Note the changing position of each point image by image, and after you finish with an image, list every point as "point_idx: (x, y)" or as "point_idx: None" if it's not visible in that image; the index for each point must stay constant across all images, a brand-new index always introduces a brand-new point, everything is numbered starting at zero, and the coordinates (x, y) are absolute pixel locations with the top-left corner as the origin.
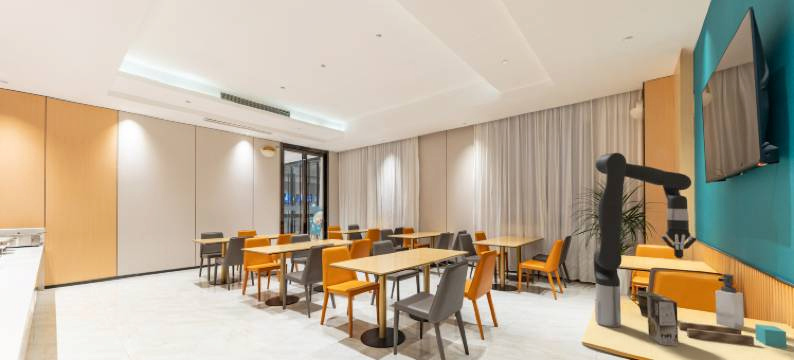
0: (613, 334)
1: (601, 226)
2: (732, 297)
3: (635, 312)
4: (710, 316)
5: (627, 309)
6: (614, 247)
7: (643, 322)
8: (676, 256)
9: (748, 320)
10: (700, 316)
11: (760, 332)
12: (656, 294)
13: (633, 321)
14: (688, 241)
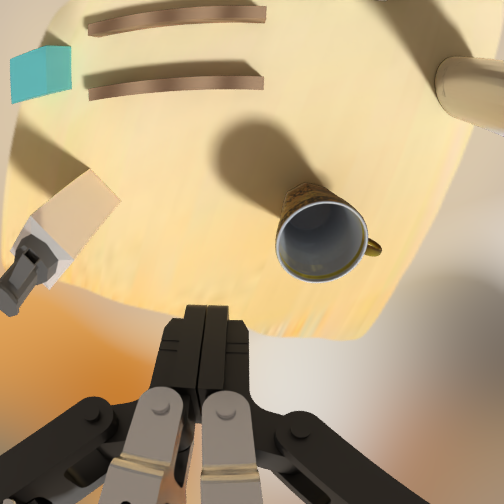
0: (465, 7)
1: None
2: (39, 211)
3: None
4: (121, 268)
5: None
6: None
7: (357, 123)
8: (237, 322)
9: None
10: (146, 258)
11: (55, 67)
12: (285, 265)
13: (385, 125)
14: (59, 498)
